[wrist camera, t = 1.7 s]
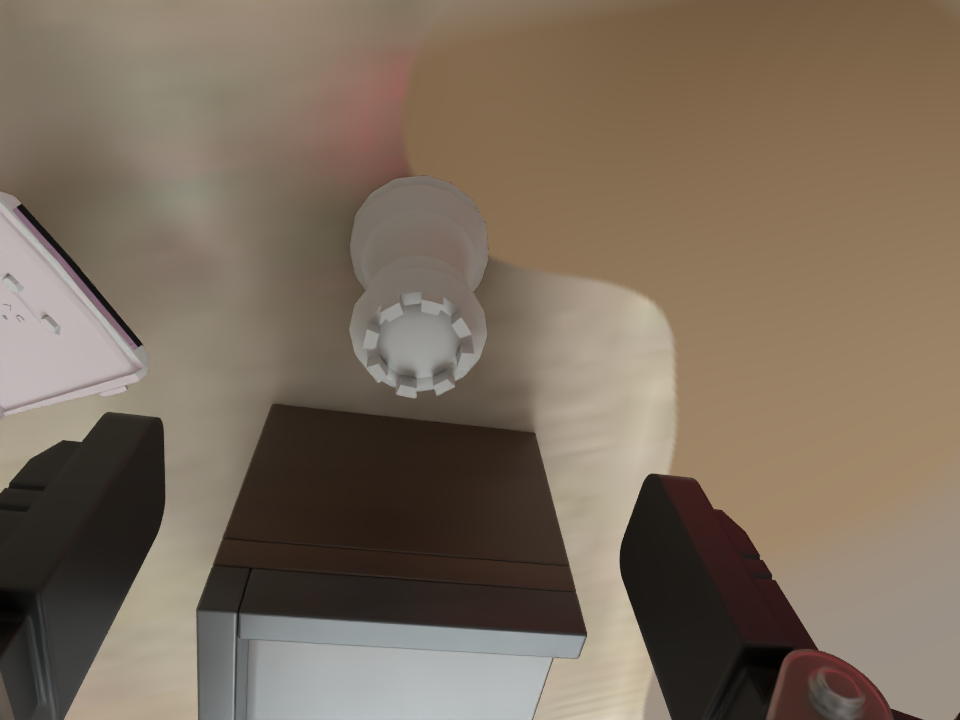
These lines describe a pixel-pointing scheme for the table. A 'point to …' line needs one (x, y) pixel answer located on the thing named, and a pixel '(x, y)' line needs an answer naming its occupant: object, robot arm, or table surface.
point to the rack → (386, 576)
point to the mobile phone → (55, 323)
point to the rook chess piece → (418, 284)
